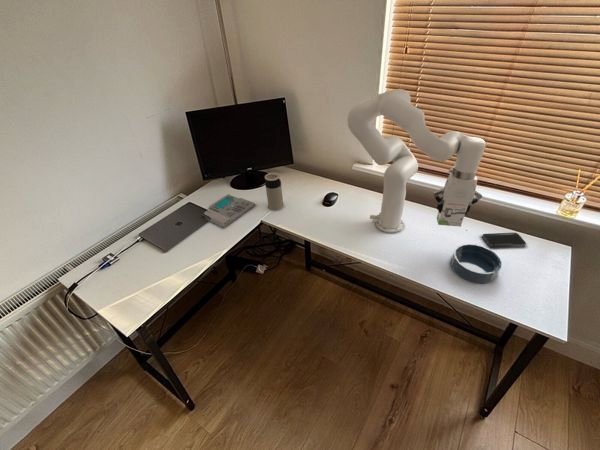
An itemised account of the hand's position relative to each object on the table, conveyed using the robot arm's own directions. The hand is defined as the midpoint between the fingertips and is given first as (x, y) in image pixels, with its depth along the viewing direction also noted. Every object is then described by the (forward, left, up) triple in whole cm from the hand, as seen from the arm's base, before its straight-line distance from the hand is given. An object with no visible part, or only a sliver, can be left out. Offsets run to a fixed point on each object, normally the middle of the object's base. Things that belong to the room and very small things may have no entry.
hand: (451, 211), depth 119 cm
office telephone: (-104, +14, -18) cm, 107 cm away
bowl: (+10, -12, -18) cm, 24 cm away
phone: (+26, +6, -18) cm, 32 cm away
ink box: (0, 0, -6) cm, 6 cm away
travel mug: (-79, +21, -18) cm, 84 cm away
